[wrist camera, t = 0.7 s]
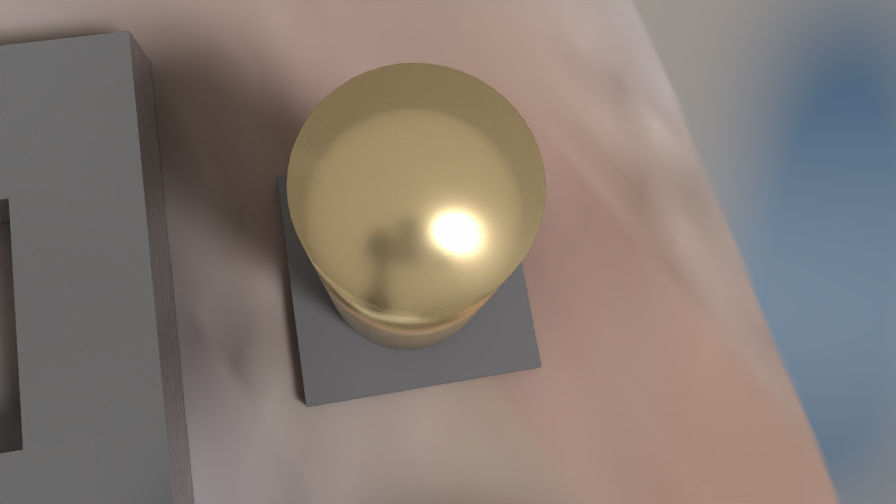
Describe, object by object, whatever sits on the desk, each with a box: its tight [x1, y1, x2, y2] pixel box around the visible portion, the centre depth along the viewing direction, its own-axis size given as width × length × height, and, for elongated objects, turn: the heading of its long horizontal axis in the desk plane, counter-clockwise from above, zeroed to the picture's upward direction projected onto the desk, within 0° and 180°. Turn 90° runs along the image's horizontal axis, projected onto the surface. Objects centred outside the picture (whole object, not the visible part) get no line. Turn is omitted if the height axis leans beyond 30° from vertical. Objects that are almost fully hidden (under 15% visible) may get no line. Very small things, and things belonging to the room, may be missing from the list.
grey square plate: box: [277, 176, 541, 407], centre depth 23 cm, size 7×7×1 cm
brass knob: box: [287, 63, 546, 350], centre depth 18 cm, size 5×5×9 cm
